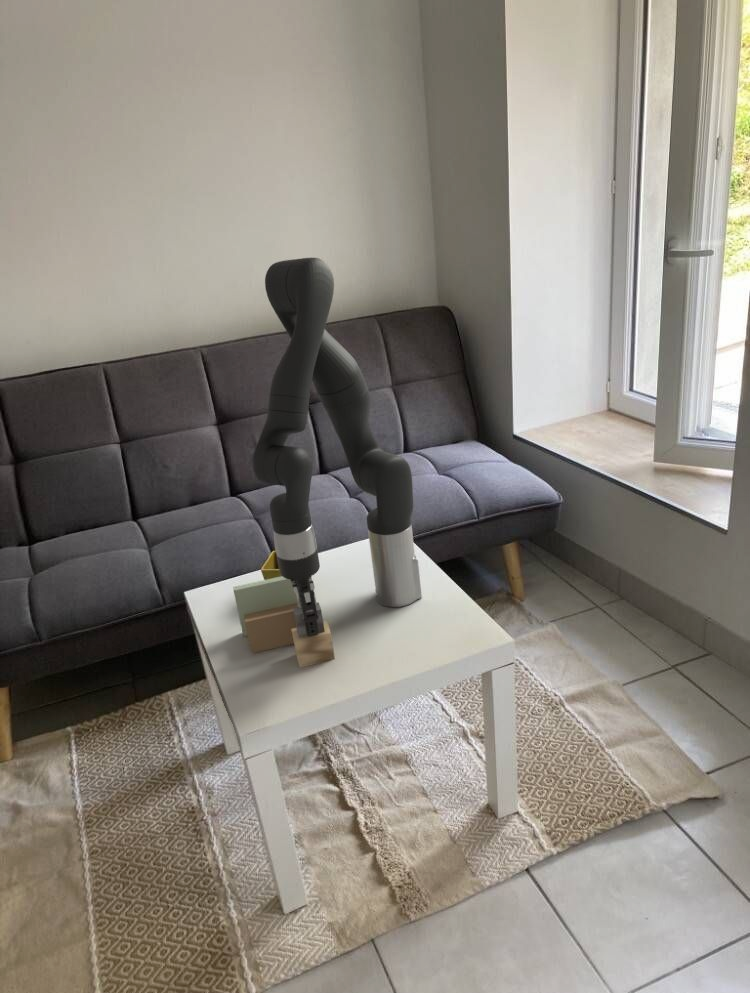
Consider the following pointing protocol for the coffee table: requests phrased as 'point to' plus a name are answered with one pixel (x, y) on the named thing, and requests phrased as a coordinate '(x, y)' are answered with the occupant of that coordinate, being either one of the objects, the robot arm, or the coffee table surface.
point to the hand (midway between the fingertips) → (309, 623)
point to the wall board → (267, 612)
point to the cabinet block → (312, 640)
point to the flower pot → (271, 567)
